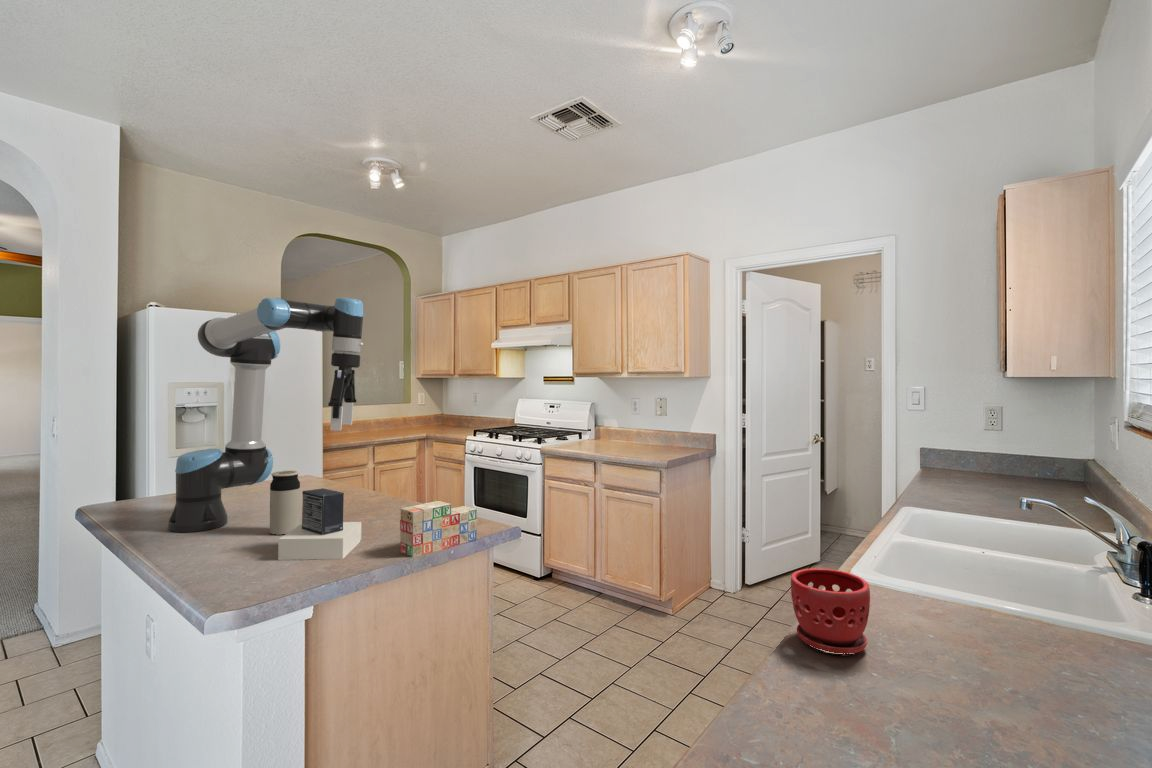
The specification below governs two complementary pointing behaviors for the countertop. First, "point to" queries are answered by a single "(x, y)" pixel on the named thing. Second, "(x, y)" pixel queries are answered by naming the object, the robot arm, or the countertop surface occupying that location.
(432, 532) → the stack of blocks
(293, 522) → the travel mug
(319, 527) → the small box
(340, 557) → the cream block
